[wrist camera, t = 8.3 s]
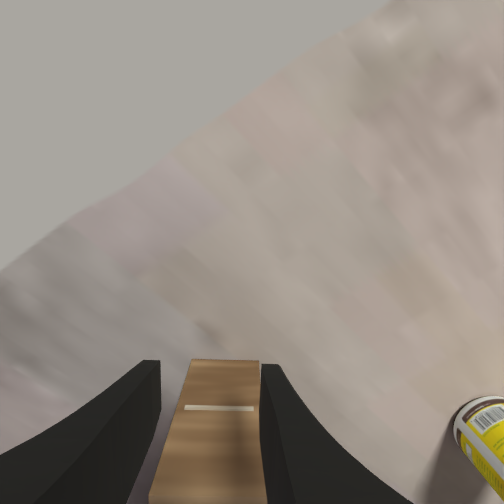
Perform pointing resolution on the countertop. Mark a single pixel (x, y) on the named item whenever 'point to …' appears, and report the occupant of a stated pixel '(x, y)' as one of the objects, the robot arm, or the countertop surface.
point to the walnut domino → (214, 438)
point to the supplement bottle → (483, 438)
